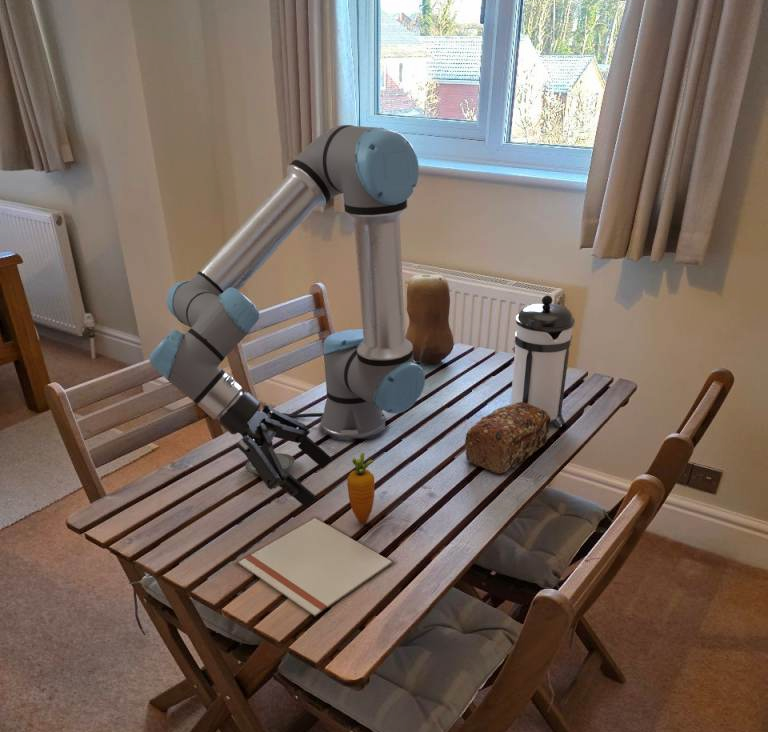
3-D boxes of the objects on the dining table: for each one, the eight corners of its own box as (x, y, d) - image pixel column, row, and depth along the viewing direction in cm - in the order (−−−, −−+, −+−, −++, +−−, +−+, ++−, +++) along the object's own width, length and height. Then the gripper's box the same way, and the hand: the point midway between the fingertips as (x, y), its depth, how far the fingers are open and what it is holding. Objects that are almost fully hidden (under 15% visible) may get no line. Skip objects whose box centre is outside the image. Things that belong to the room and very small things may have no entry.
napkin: (238, 563, 121) (238, 561, 121) (315, 519, 132) (315, 517, 132) (315, 616, 110) (314, 614, 109) (391, 563, 121) (391, 561, 120)
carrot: (361, 513, 134) (358, 446, 126) (381, 523, 131) (379, 454, 123) (344, 525, 130) (339, 456, 123) (364, 535, 128) (361, 465, 120)
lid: (267, 493, 143) (270, 474, 140) (234, 469, 147) (236, 450, 144) (302, 473, 151) (305, 455, 148) (269, 450, 154) (272, 432, 151)
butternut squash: (429, 350, 206) (431, 265, 193) (462, 362, 197) (465, 274, 184) (394, 362, 198) (393, 275, 185) (426, 376, 190) (427, 285, 176)
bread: (502, 478, 144) (505, 435, 138) (461, 461, 150) (463, 420, 145) (550, 445, 155) (555, 405, 150) (510, 430, 161) (513, 391, 156)
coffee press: (579, 415, 167) (597, 292, 152) (545, 439, 157) (560, 310, 142) (518, 396, 177) (529, 279, 162) (482, 417, 167) (490, 295, 152)
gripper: (218, 424, 109) (318, 509, 115) (263, 364, 130) (346, 438, 136) (192, 452, 112) (290, 532, 118) (240, 389, 133) (321, 460, 139)
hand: (320, 482), depth 127 cm, fingers open, 13 cm apart
